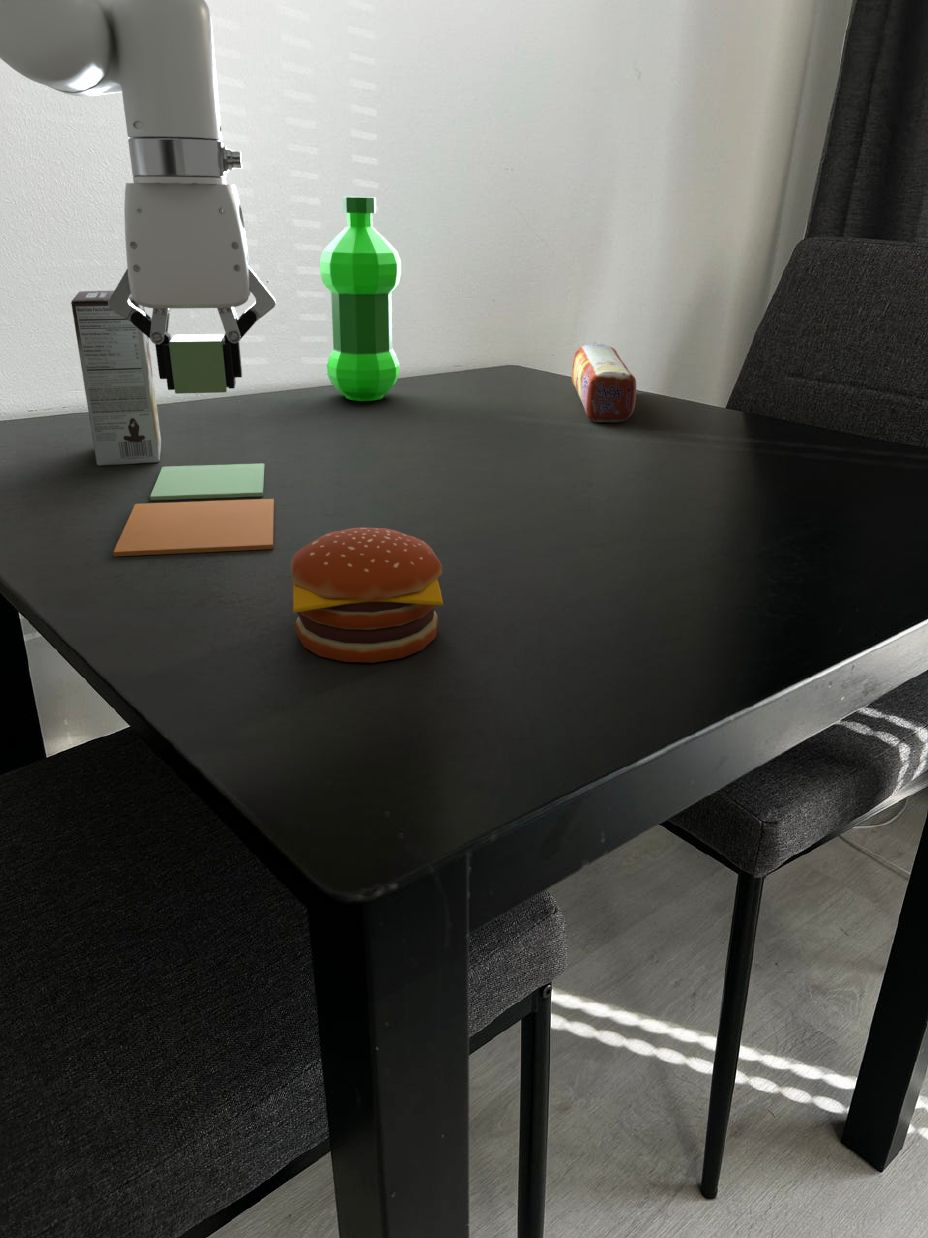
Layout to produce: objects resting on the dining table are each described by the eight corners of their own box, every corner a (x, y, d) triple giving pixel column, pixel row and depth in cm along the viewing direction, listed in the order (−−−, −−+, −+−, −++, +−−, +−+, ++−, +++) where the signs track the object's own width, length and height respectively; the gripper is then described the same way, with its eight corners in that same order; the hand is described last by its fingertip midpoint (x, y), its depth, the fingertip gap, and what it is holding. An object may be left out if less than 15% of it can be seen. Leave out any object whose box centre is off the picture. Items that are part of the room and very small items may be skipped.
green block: (174, 393, 82) (168, 341, 80) (179, 384, 86) (173, 334, 84) (226, 392, 82) (221, 340, 80) (229, 383, 86) (224, 333, 84)
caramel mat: (113, 556, 70) (112, 551, 70) (135, 507, 81) (135, 503, 80) (273, 549, 72) (272, 544, 72) (273, 502, 83) (273, 498, 82)
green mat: (150, 500, 82) (149, 496, 82) (162, 470, 91) (162, 466, 91) (263, 496, 84) (262, 492, 84) (264, 467, 93) (264, 463, 93)
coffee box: (101, 444, 100) (77, 289, 93) (162, 441, 102) (143, 289, 95) (95, 466, 92) (69, 299, 85) (161, 463, 94) (141, 298, 87)
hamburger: (297, 673, 54) (289, 568, 51) (294, 607, 62) (287, 514, 59) (454, 661, 55) (455, 558, 52) (430, 598, 64) (430, 507, 61)
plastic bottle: (417, 396, 126) (416, 198, 116) (361, 408, 119) (354, 197, 108) (367, 386, 132) (362, 196, 122) (311, 396, 125) (300, 195, 114)
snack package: (635, 424, 113) (641, 369, 110) (582, 423, 113) (586, 368, 110) (615, 391, 132) (619, 343, 130) (569, 390, 133) (573, 341, 130)
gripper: (281, 167, 81) (295, 377, 89) (80, 164, 78) (113, 381, 86) (281, 165, 74) (296, 392, 82) (62, 162, 71) (99, 397, 79)
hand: (202, 384), depth 84 cm, fingers closed on green block, 4 cm apart
